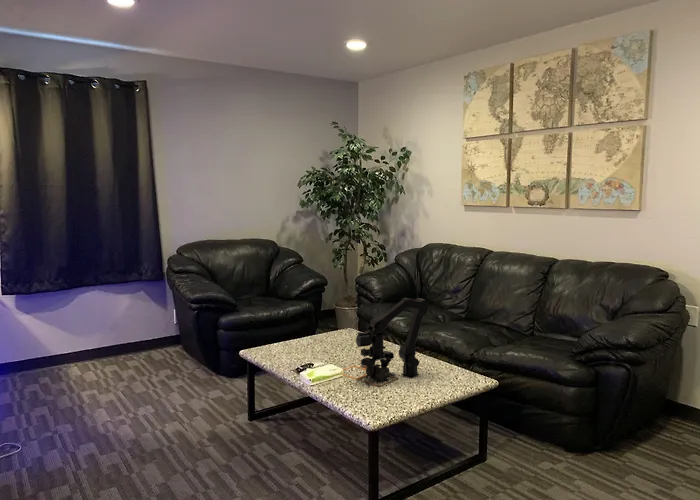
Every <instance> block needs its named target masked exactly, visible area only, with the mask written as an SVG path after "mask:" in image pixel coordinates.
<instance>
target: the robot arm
mask: <svg viewBox="0 0 700 500" xmlns="http://www.w3.org/2000/svg"><path fill="white" fill-rule="evenodd" d="M408 308H412V315H413V316H412V317H411V323H410V326H409V330H408V332H407V336H406V340H405V343H404V344H403V345H402V344H400V346H399V350H398V356H399V358H400V359H401V361H402V362H403V366H402V374H401V376H403V377H407V378H411V379H413V378H415V377H418V376H420V373H418V366H419V365H420V360H419V359H418V358H417V357H416V353H417V352H416V350H417V349H416V343H417V339H418V336H419V333H420V329H421V325H422V321H423V318H424V317H425V316H426V315H427V313H428V312H429V309H430V302H429V301H428V300H426V299H424V298H420V297H417V298H416V299H415V298H407V297H403V298H402V299H401V300H400V301H399V302H397V303H396V304H395V305H393V306H392V307H391V308H390V309H388V310H387V311H386V312H385V313H383V314H381V315H377V316H375V317H373V318H372V319H371V320H370V322H369V325H368V326H367V328H366V330H365V331H364V332H363V331H362V332H359V331H358V332H357V335H356V338H355V343H356V346H357V347H358V348H361V347H362V348H361V349H360V356H363V358H362V359H361V360H360V366H361V365H364V366H367V367H368V369H369V372H370V374H371V377H372V378H371V379H373V378H374V375H375V370H376V366H377V365H376V362H378V361H379V362H380V365H381V366H380V368H383V367H387V368H388V366H389V364H390V362H391V361H392V360H393V359H394V358H395V356H394V355H395V354H394V353H393V352H392V351H388V350H385V349H386V346H384V337H385V336H388V333H387V332H386V331H385V329H386V328H387V327H388V326H389V324H390V322H391V321H392V320H394V319H395V318H396V317H397V316H399V315H400V314H401V313H403V312H404V311H405V310H407V309H408ZM363 347H369V348H363Z"/></svg>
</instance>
